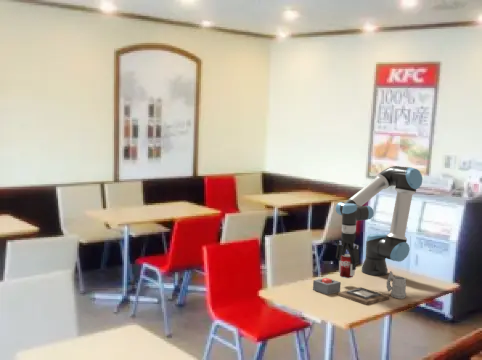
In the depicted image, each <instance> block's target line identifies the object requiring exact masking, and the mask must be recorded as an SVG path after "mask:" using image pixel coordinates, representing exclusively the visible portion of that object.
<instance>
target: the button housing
mask: <svg viewBox="0 0 482 360" xmlns="http://www.w3.org/2000/svg"><path fill="white" fill-rule="evenodd" d="M322 279H323V278H319V279H315V280H313V283H312V284H313V285H312V290H313V291H315V292H319V293H320V294H321V293H322V294H323V295H324V294H325V295H330V294H331V295H332V294H335V293H339V292H341V284H342V283H341V281H338V280H334V279H332V283H328V284H327V283H324V282H322Z"/></svg>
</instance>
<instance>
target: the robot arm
mask: <svg viewBox="0 0 482 360" xmlns="http://www.w3.org/2000/svg"><path fill="white" fill-rule="evenodd" d="M422 184H423V175H422V173H421V171H420V170H419V169H418V168H415V167H408V166H399V165H393V166H389V167H388V168H386V169H384V170H382V171H380V172H379V173H378V174H377V175H375V177H374V179H372V180H371V181H370V182H369V183H368V184H366V185H365V186H363V188H361V189H360V190H359V191H358V192H356V193H355V194H354V195H352V196H351V197H350V198H348V199H347V200H346V201H340V202H338V203H336V205H335V211H336V214H337V215H339V216H341V233H340V235H341V237H340V238H341V240H337V241H336V245H337V247H336V252H335V259H337V260H338V273H339V274H340V259H341V255H342V254H346V252H347V251H348V252H349V253H348V254H350V257H351V261H352V263H351V267H350V276H353V277H354V276H355V272H356V269H357V264H359V263H360V251H359V249H360V244H356V242H355V240H356V237H357V235H356V232H357V222H358V221H368V220H371V219H372V218H374V212H375V211H374V209H373V208H372V206H370V205H365V204H366V203H368V202H369V201H370V200H371V199H373V197H376V195H377V194H379V193H380V192H381V191H383V190H386V189H388V188H389V187H393V186H395V188H394V189H395V191H396V197H395V202H394V207H393V213H392V219H391V223H390V224H391V225H390V231H389V233H387V234H386V233H372V234H371V233H370V234H368V235H367V236H366V241H365V242H366V243H365V244H366V245H365V260H364V261H363V264H362V267H361V273H364V274H366V275H370V276H387V275H389V271H388V267H387V262H386V259H387V260H391V261H393V262H398V263H399V262H403V261H404V260H405V259H407V257H408V256H409V254H410V250H411V249H410V245H409V244H408V243H407V241H408V239H407V237H406V232H407V231H406V230H407V225H408V221H409V214H410V210H411V204H412V199H413V195H414V194H415V193H416V192H417V190H418V189H419V188H421V186H422Z"/></svg>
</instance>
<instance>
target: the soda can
mask: <svg viewBox="0 0 482 360" xmlns="http://www.w3.org/2000/svg"><path fill="white" fill-rule="evenodd" d="M351 263H352V261H351V257H350V253H345V254H342V255H341V259H340V273H339V277H340V278H343V279H352V278H353V277H354V276H350V267H351Z"/></svg>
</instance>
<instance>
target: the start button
mask: <svg viewBox="0 0 482 360" xmlns="http://www.w3.org/2000/svg"><path fill="white" fill-rule="evenodd" d="M321 279H322V282H324V283H327V284H328V283H332V280H333V278H328V277H325V278H321Z"/></svg>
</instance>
